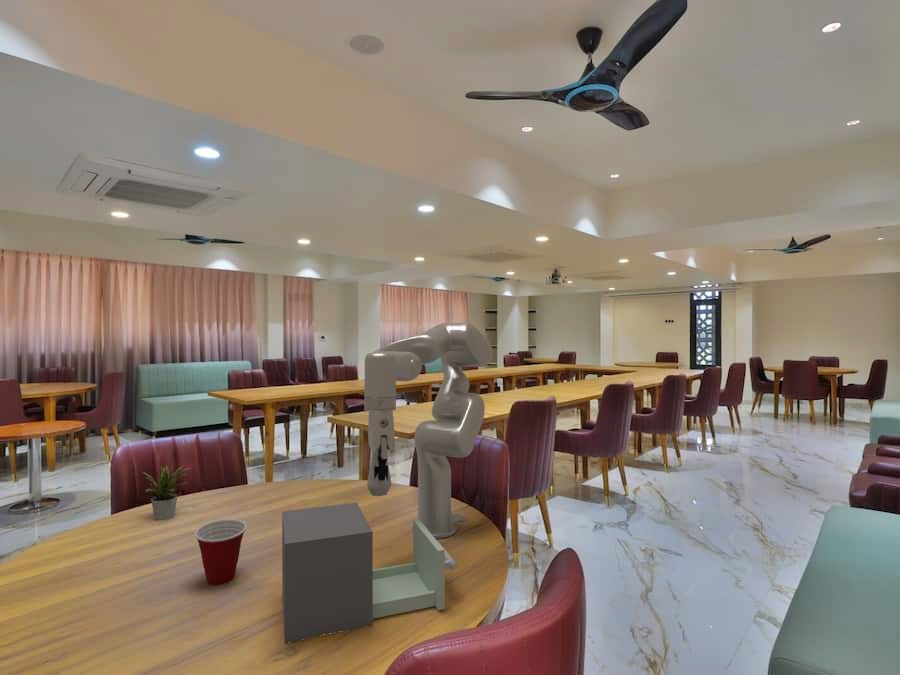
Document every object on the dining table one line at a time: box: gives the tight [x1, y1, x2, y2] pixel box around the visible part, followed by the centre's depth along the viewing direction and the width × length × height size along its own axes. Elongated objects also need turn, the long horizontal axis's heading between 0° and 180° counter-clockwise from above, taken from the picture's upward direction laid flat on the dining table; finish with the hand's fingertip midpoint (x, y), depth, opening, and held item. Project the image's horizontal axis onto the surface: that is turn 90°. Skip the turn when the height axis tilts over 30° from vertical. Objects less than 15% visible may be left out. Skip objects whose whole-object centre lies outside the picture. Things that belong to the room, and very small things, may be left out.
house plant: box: [141, 464, 191, 521], centre depth 150 cm, size 14×14×16 cm
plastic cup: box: [194, 518, 248, 586], centre depth 111 cm, size 11×11×12 cm
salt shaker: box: [366, 450, 392, 497], centre depth 116 cm, size 6×6×13 cm
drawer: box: [373, 518, 458, 620], centre depth 105 cm, size 20×18×12 cm
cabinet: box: [281, 502, 374, 644], centre depth 99 cm, size 16×18×18 cm
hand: (379, 480), depth 116 cm, fingers closed on salt shaker, 3 cm apart
